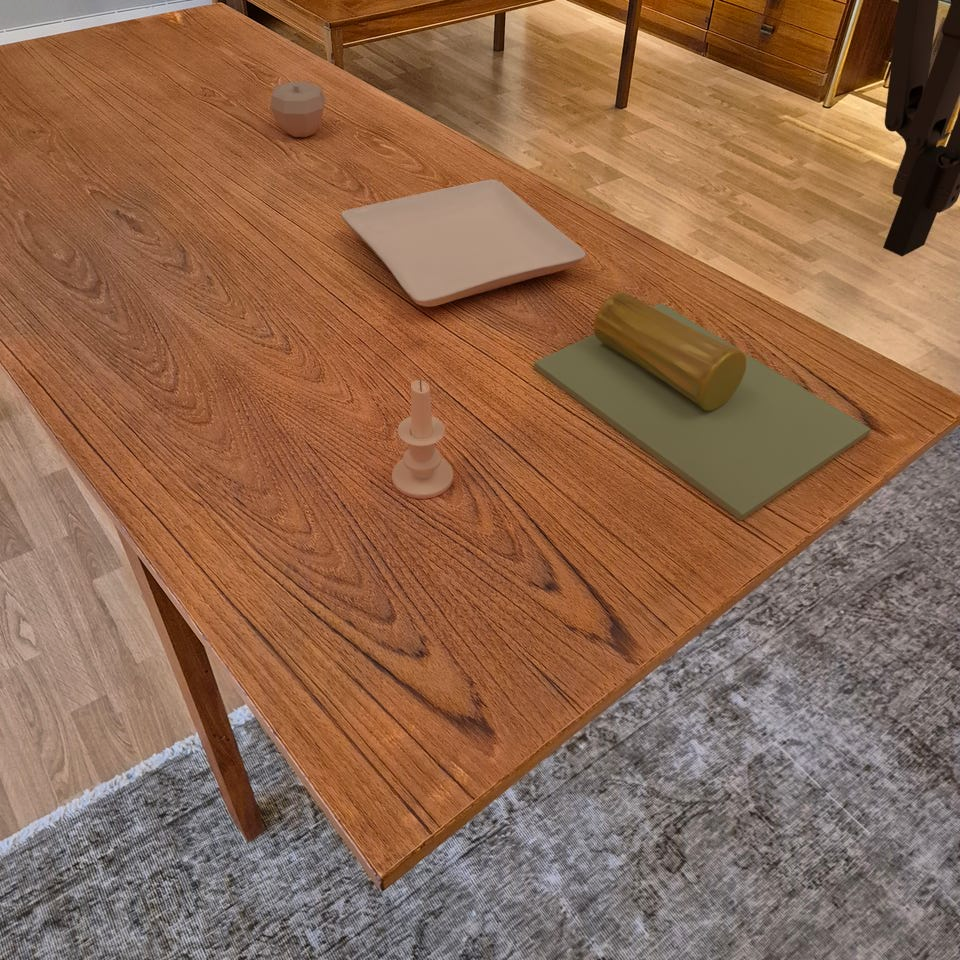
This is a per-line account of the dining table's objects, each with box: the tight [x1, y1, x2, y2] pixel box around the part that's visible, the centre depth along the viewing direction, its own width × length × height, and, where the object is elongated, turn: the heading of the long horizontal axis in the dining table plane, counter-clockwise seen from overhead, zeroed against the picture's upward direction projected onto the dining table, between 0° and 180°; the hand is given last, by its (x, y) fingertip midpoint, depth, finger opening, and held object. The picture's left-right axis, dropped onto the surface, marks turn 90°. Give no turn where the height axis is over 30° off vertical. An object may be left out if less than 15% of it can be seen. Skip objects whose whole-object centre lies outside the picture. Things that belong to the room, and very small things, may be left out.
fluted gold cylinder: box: [593, 291, 746, 411], centre depth 84 cm, size 6×6×14 cm
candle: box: [391, 379, 454, 500], centre depth 72 cm, size 5×5×10 cm
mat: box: [533, 302, 872, 522], centre depth 84 cm, size 26×18×1 cm
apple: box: [269, 81, 326, 138], centre depth 124 cm, size 8×8×7 cm
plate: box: [340, 178, 587, 308], centre depth 101 cm, size 21×21×3 cm
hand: (903, 246), depth 61 cm, fingers closed
